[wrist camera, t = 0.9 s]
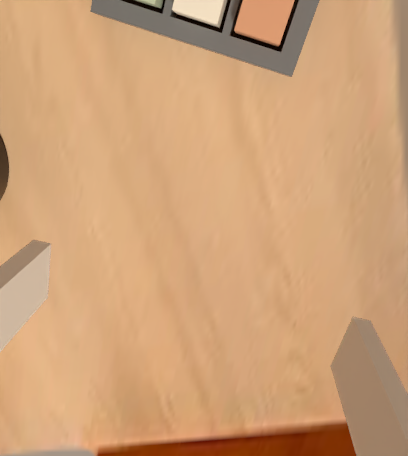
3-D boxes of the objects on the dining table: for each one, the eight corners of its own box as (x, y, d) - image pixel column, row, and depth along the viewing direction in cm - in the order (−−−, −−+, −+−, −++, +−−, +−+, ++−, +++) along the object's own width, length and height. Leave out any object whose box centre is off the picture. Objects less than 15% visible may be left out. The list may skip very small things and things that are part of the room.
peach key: (235, 33, 34) (234, 30, 32) (250, -17, 33) (249, -25, 31) (278, 46, 34) (279, 44, 32) (294, -3, 33) (297, -9, 31)
